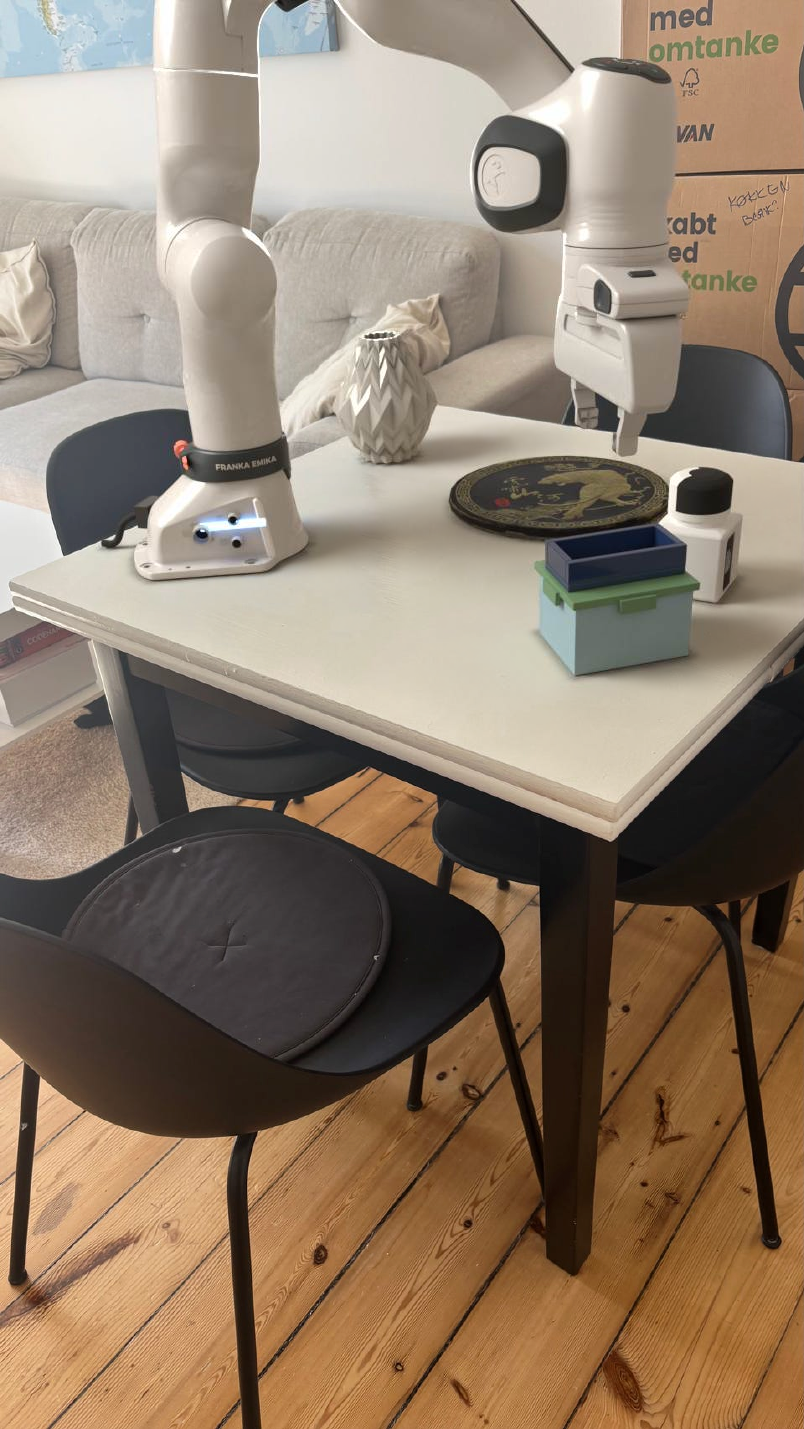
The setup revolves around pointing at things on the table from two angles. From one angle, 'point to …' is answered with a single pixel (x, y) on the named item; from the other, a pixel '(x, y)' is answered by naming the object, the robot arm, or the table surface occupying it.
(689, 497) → the container
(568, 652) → the box
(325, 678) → the table surface
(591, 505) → the decorative plate
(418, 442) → the vase
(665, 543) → the low blue storage tray
